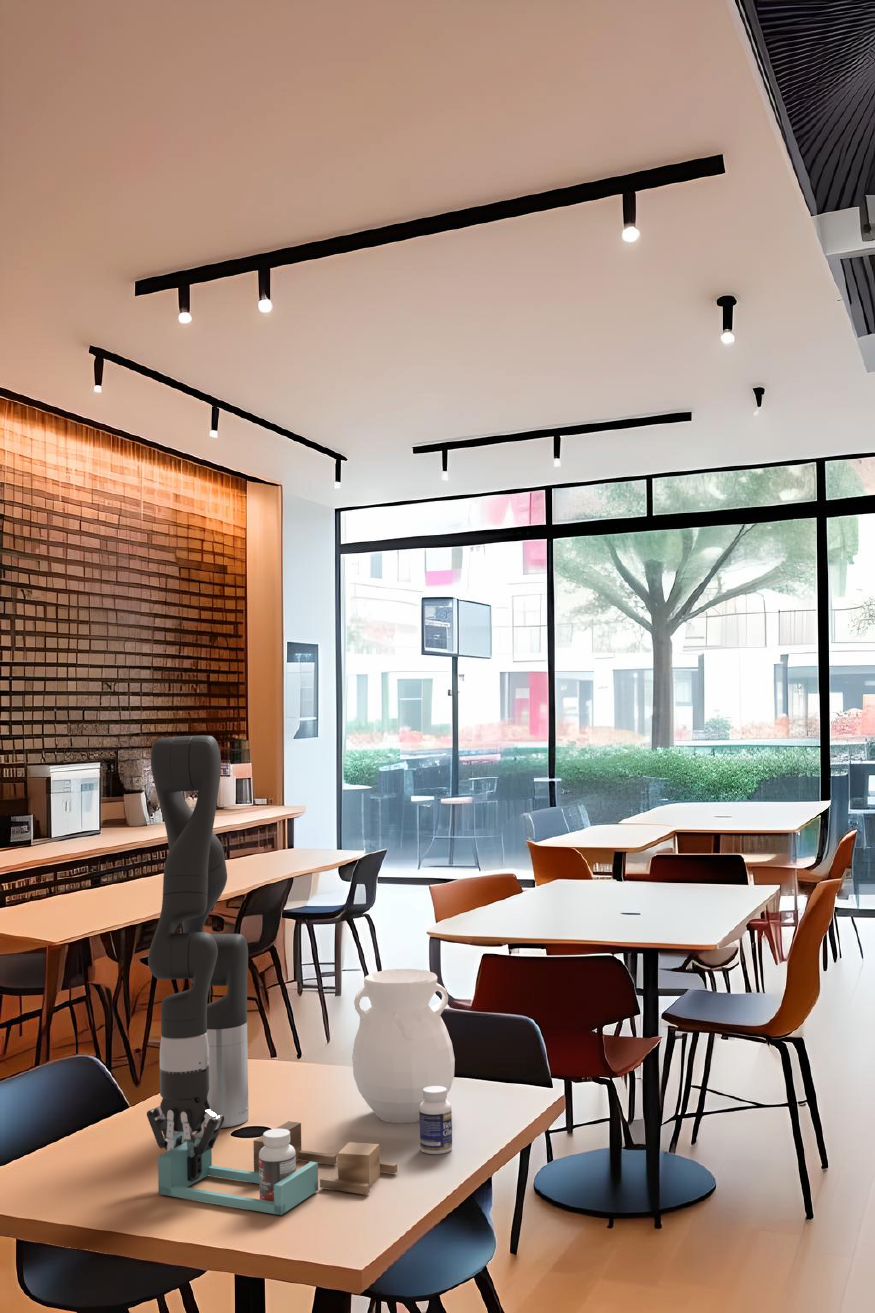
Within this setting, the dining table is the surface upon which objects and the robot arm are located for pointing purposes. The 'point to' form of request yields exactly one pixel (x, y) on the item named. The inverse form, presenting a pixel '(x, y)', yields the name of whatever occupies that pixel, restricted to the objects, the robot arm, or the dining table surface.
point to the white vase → (401, 1043)
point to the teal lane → (285, 1191)
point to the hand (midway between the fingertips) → (185, 1178)
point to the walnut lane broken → (320, 1161)
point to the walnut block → (359, 1163)
